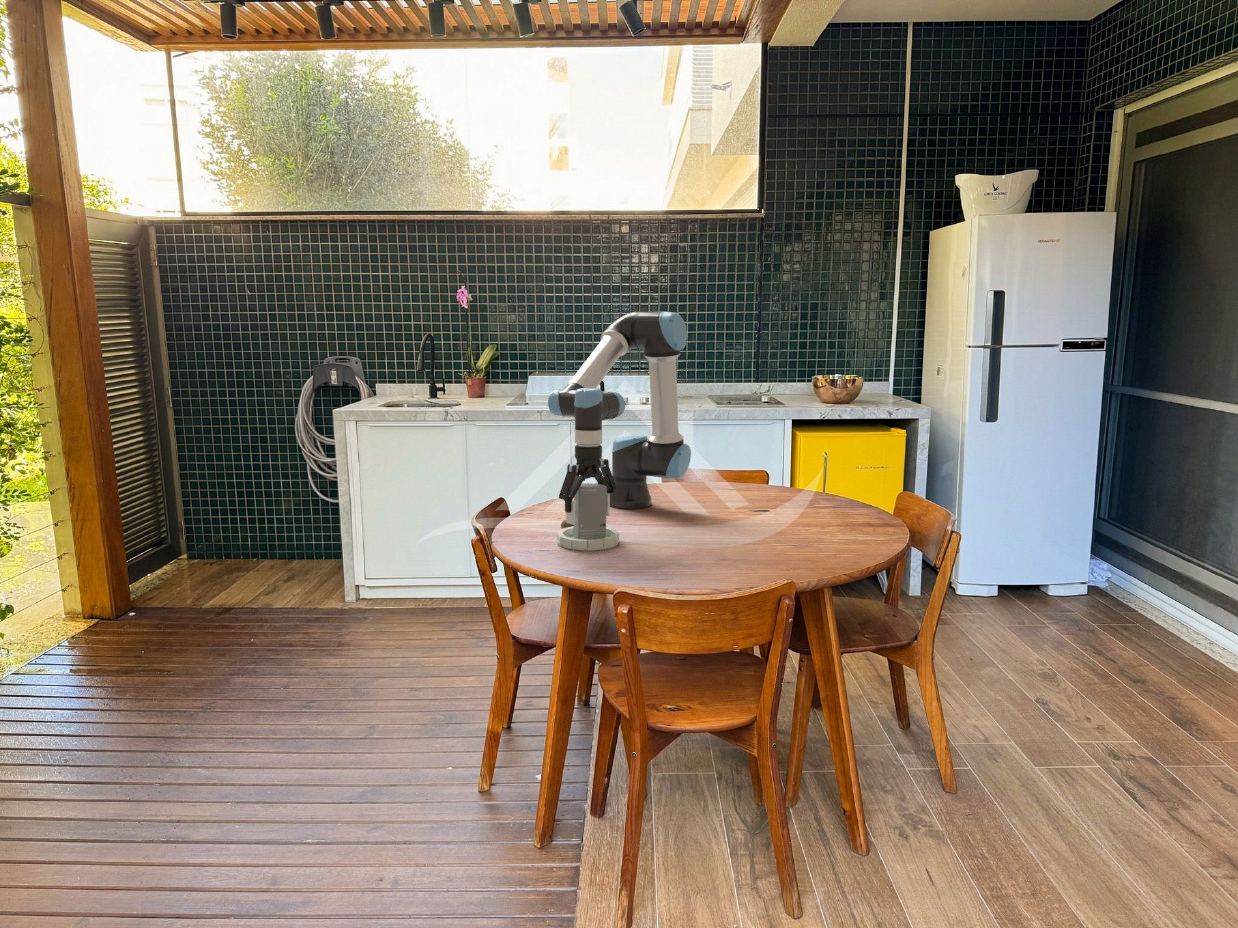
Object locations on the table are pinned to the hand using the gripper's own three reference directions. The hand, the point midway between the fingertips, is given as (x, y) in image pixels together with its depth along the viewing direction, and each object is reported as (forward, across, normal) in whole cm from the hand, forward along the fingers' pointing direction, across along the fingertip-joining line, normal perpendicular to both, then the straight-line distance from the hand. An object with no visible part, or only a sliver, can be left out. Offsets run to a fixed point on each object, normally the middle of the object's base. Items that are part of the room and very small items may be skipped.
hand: (588, 519), depth 234 cm
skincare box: (+6, -1, 0) cm, 6 cm away
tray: (+7, 0, 0) cm, 7 cm away
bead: (+7, -4, -13) cm, 15 cm away
